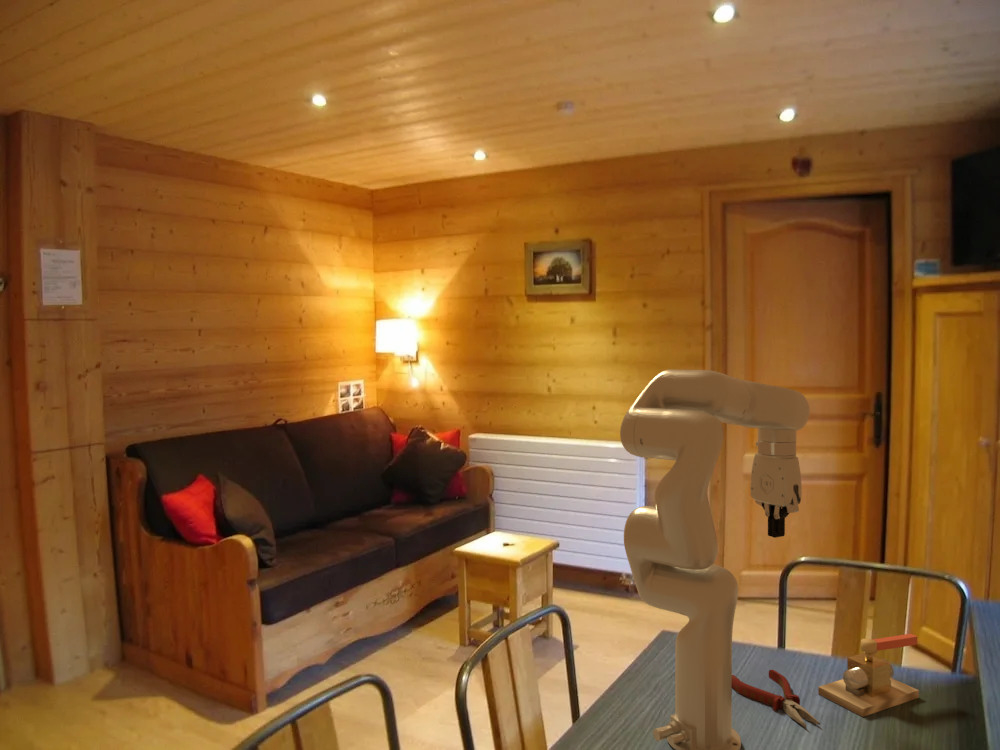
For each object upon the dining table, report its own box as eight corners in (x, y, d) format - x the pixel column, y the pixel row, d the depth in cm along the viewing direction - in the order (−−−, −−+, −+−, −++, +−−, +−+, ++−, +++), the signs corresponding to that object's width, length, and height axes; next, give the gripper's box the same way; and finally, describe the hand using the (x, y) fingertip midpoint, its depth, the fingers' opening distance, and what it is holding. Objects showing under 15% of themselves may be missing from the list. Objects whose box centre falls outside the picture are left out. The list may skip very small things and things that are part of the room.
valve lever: (868, 654, 143) (868, 645, 143) (857, 648, 146) (857, 639, 146) (919, 646, 146) (919, 637, 146) (908, 640, 149) (908, 631, 149)
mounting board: (862, 716, 137) (862, 709, 137) (818, 694, 146) (818, 686, 146) (918, 697, 144) (918, 690, 144) (873, 676, 153) (873, 669, 153)
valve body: (863, 700, 140) (864, 662, 140) (838, 687, 145) (838, 651, 145) (898, 688, 145) (898, 651, 144) (872, 677, 150) (873, 641, 149)
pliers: (785, 736, 132) (785, 721, 132) (725, 685, 151) (725, 673, 151) (840, 727, 134) (840, 713, 134) (774, 679, 154) (774, 666, 154)
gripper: (737, 445, 159) (736, 530, 160) (792, 455, 145) (791, 547, 146) (762, 443, 162) (762, 526, 163) (819, 452, 149) (818, 542, 149)
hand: (776, 535), depth 155 cm, fingers closed
